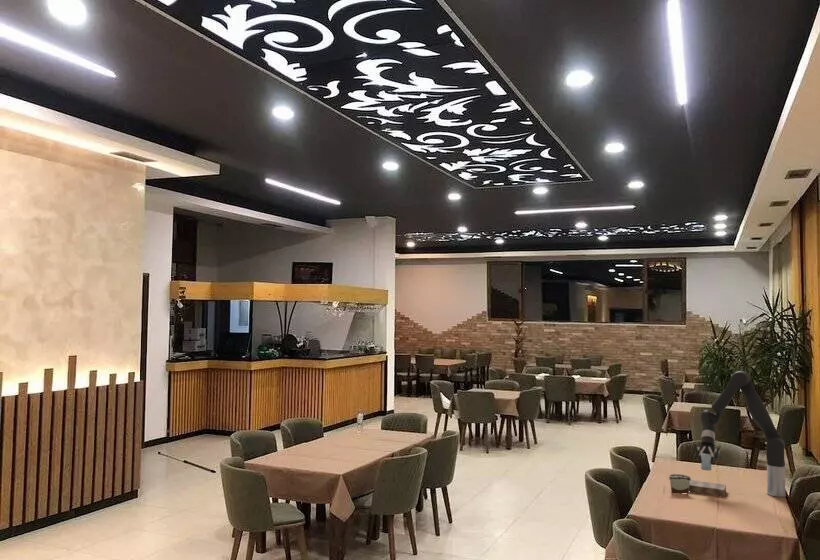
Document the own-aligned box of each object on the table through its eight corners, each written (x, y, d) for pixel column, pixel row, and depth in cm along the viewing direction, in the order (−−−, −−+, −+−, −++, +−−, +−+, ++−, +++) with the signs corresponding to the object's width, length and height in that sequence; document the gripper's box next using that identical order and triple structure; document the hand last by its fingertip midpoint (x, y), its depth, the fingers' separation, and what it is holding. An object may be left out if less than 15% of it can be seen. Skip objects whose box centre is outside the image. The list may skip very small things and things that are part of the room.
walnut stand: (725, 491, 381) (725, 484, 381) (724, 497, 369) (724, 490, 369) (689, 486, 391) (689, 479, 391) (686, 491, 379) (686, 484, 379)
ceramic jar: (711, 469, 382) (711, 453, 383) (711, 470, 377) (710, 455, 378) (701, 467, 385) (701, 452, 385) (700, 469, 380) (700, 454, 381)
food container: (687, 491, 379) (687, 474, 379) (691, 494, 373) (691, 477, 373) (666, 490, 380) (666, 473, 380) (669, 493, 374) (669, 476, 374)
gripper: (694, 434, 392) (692, 457, 381) (720, 436, 385) (718, 460, 374) (695, 441, 396) (693, 464, 386) (721, 444, 389) (719, 468, 378)
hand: (706, 462), depth 380 cm, fingers closed on ceramic jar, 5 cm apart
